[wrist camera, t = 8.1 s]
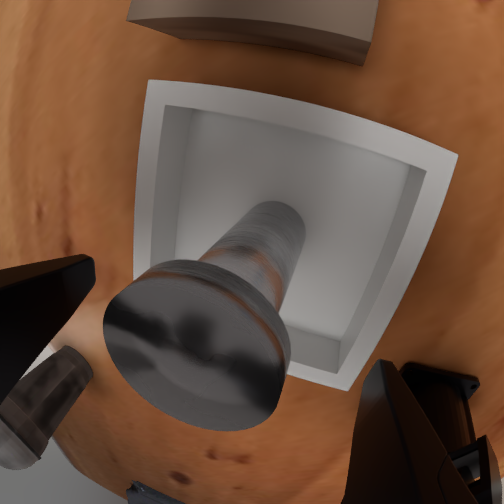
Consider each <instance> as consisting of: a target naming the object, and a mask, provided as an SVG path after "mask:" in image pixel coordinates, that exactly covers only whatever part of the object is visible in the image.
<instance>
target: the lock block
mask: <svg viewBox="0 0 504 504" xmlns="http://www.w3.org/2000/svg"><path fill="white" fill-rule="evenodd" d="M378 2H379V0H131V4H130V8H129V12H128V16H127V20H126V21H129V22H132V23H135V24H139V25H142V26H145V27H148V28H151V29H154V30H157V31H160V32H163V33H166V34H168V35H171V36H174V37H177V38H179V39H202V40H219V41H232V42H242V43H251V44H259V45H266V46H273V47H279V48H285V49H291V50H297V51H302V52H307V53H312V54H316V55H321V56H325V57H329V58H334V59H338V60H341V61H345V62H349V63H353V64H356V65H360V66H363V64H364V61H365V58H366V56H367V53H368V50H369V47H370V44H371V40H372V35H373V30H374V24H375V19H376V13H377V8H378Z"/></svg>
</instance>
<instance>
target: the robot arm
mask: <svg viewBox="0 0 504 504" xmlns="http://www.w3.org/2000/svg"><path fill="white" fill-rule="evenodd" d="M95 281H96V276H95V263H94V260H93V258H92V257H90V256H87V255H85V254H79V255H74V256H68V257H63V258H58V259H52V260H47V261H42V262H37V263H31V264H26V265H21V266H16V267H11V268H6V269H1V270H0V405H1V403H2V402H3V401H4V400H5V398H6V397H7V396H8V394H9V393H10V392H11V390H12V389H13V388H14V386H15V385H16V384H17V382H18V381H19V380H20V378H21V377H22V376H23V374H24V373H25V372H26V371H27V369H28V368H29V367H30V366H31V364H32V363H33V362H34V361H35V359H36V358H37V357H38V355H39V354H40V353H41V352H42V351H43V349H44V348H45V347H46V346H47V345H48V344H49V342H50V341H51V340H52V339H53V338H54V336H55V335H56V334H57V333H58V332H59V331H60V329H61V328H62V327H63V326H64V325H65V324H66V322H67V321H68V320H69V319H70V318H71V316H72V315H73V314H74V312H75V311H76V309H77V308H78V307H79V305H80V304H81V303H82V301H83V300H84V298H85V297H86V296H87V294H88V293H89V292H90V290H91V289H92V288H93V286H94V284H95ZM410 370H412V371H410ZM408 371H410V372H408ZM479 386H480V383H479V380H478V378H475V377H470V376H466V375H461V374H456V373H452V372H447V371H443V370H439V369H434V368H430V367H426V366H422V365H418V364H414V363H409V364H406V365H405V366H404V367H403V368H402V369H401V371H400V372H398V370H397V369H396V367H395V365H394V364H393V363H392V362H391V361H387V360H383V359H379V360H377V361H376V363H375V364H374V366H373V367H372V369H371V370H370V372H369V374H368V375H367V377H366V378H365V380H364V383H363V388H362V393H361V398H360V403H359V408H358V413H357V417H356V422H355V426H354V432H353V439H352V447H351V455H350V463H349V470H348V476H347V483H346V489H345V495H344V497H343V499H342V502H341V504H502V484H501V478H500V472H499V467H498V461H497V458H496V456H495V453H494V451H493V449H492V446H491V444H490V442H489V440H488V438H487V435H486V434H485V435H483V436H482V437H480V438H477V441H476V437H475V432H474V427H473V422H472V417H471V413H470V408H469V404H468V399H469V398H470V397H471V396H472V395H473V393H474V392H475V391H476V390H477V389H478V388H479ZM477 477H480V479H479V480H476V481H475V480H474V479H475V478H477Z"/></svg>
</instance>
